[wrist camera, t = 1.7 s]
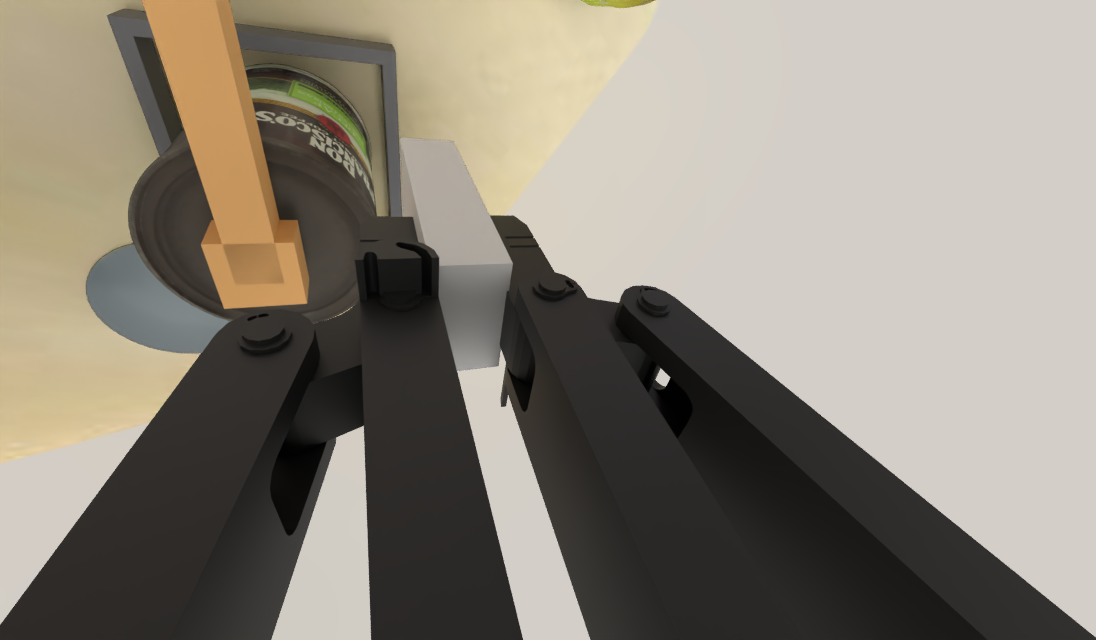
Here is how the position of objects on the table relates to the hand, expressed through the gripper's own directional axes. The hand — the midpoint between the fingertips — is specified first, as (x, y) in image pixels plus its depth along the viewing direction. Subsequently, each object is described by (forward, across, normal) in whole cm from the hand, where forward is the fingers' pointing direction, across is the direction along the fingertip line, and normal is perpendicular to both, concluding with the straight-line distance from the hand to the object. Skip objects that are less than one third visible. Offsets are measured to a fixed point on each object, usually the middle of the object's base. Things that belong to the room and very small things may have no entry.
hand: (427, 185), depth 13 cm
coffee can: (+23, +6, +7) cm, 25 cm away
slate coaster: (+22, +16, +20) cm, 34 cm away
